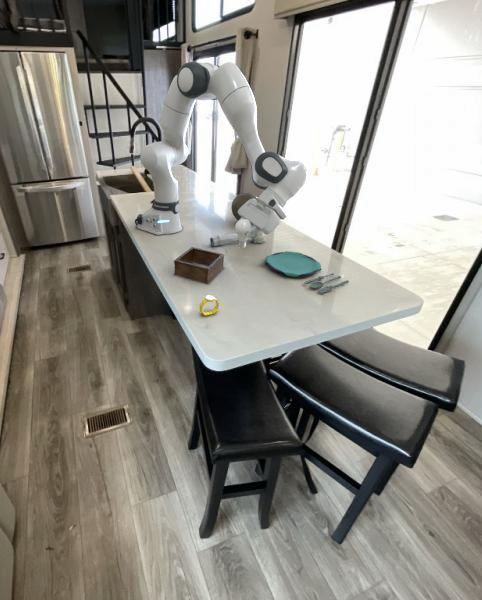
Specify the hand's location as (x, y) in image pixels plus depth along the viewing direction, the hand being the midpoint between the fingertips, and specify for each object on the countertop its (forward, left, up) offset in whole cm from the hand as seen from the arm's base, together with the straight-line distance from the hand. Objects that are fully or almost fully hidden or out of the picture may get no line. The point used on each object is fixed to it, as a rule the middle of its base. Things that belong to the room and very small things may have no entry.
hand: (241, 232), depth 115 cm
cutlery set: (+22, +7, -14) cm, 27 cm away
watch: (+3, -34, -14) cm, 37 cm away
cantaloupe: (-16, +48, -14) cm, 53 cm away
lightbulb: (0, 0, -6) cm, 6 cm away
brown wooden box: (-12, -11, -14) cm, 21 cm away
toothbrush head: (-9, +21, -14) cm, 27 cm away
